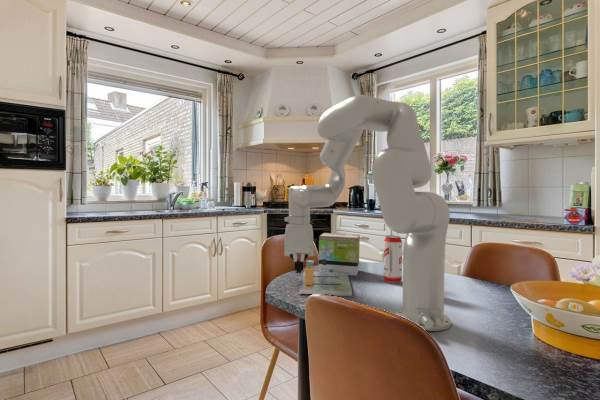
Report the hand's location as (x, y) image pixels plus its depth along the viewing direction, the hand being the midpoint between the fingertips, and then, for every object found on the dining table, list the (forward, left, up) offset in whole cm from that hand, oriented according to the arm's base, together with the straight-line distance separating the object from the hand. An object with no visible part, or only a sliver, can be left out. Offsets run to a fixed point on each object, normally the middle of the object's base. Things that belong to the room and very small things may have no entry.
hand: (298, 272), depth 122 cm
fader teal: (0, -4, -1) cm, 4 cm away
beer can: (+1, -33, -3) cm, 33 cm away
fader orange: (-10, -4, -1) cm, 11 cm away
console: (-5, -9, -3) cm, 11 cm away
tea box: (+14, -15, -3) cm, 21 cm away
